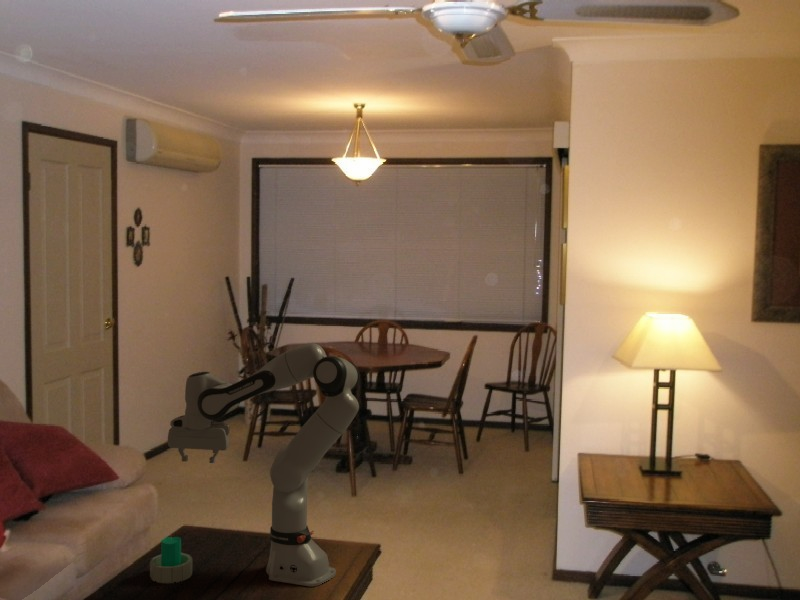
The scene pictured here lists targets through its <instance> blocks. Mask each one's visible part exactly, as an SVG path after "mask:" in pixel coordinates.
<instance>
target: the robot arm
mask: <svg viewBox="0 0 800 600" xmlns="http://www.w3.org/2000/svg"><path fill="white" fill-rule="evenodd" d="M360 376H361V375H360V371H359V370H358V367H357V366H356V365H355V364H354V363H353V362H351V361H349V360H347V359H345V358H343V357H339V356H335V355H334V356H333V355H327V354H326V352H325V350H324V348H323V347H322V346H321V345H319V344H317V343H314V342H312V343H307V344H304V345H299V346H296V347H294V348H291V349H289V350H287V351H284V352H283V353H280V354H279V355H277V356H275V357H274V358H272V359H271V360H269V361H268V362H266V364H264V365H263V366H262V367H261V368H259V369H258V370H257V371H256V372H254V373H252V374H251V375H249V376H248V377H246V378H244V379H242V380H239V381H236V382H235V383H232V382H227V381H225V380H223V379H220V378H218V377H217V376H215V375H213V374H212V373H211V372H210V371H199V372H196V373H192V374H190V375H189V376H188V377H187V378H186V383H185V391H184V392H185V395H184V400H185V405H186V406H185V411H184V415H183V414H182V415H180V416H177V417H175V418H173V419H172V420H170V428H169V430H168V433H167V446H168V447H169V448H170V449H178V450H177V451H178V453H179V455H180V457H181V462H188V461H189V456H188V455H187V454H186V453H185V450H186V449H189V450H203V451H204V450H206V451H212V454H213V455H212V456H210V457H209V459H208V460H209V461H208V463H210V464H215V463H216V457H217V456H218V454H219V452H220V451H224V452H225V451H227V449H228V448H229V447H230V426H229V424H227V423H226V422H225V421H221V422H220V421H218V420H219V419H221V418H223V417H224V416H225V415H227V414H228V413H230V412H232V411H234V410H236V408H238V407H239V405H240V404H241V403H242V402H245V401H246V400H249V399H251V398H254V397H255V396H259V395H261V394H265V393H268V392H274V391H278V390H283V389H287V388H289V387H293V386H296V385H298V384H301V383H302V382H305V381H307V380H309V379H312V378H313V379H314V381H315V383H316V385H317V386H318V388H319V389H320V392H321V394H322V395H323V396H325V398H324V401H323V402H322V403H321V405H320V406H319V407H318V408H317V409H316V410H315V411H314V413H313V414H312V415H311V416H310V417H309V418H308V419H307V421H306V422H304V424H303V425H302V427H301V428H300V429H299V430H298V432H297V433H296V434H295V435H294V436H293V438H292V439H291V440H290V442H289V443H288V444H287V445H286V446H284V447H282V448H281V449H280V450H278V451H277V454H276V455H275V457H274V460H273V463H272V465H271V467H270V472H269V475H270V480H271V484H272V486H273V489H272V500H271V526H270V528H269V530H270V531H269V539H270V550H269V558H268V562H267V565H266V568H265V572H266V574H267V575H268V580H270V581H274V582H281V583H286V584H293V585H299V586H306V587H310V588H311V587H317V586H320V585H322V583H323V584H325V583H326V581H327V582H328V580H329V581H330V580H331V578H332V579H333V578H334V577H335V576H336V573H337V569H336V568H334V567H331V566H330V563H329V558H328V557H329V556H328V554H327V553H326V552H325V551H324V550H323V548H321V547H320V546H319V545H318V544H317V543H316V542H315V541H314V540H313V539H312V535H314V534H315V533H314V530H311V531H310V529H309V526H308V525H307V524H308V523H307V521H308V517H307V515H308V513H307V512H308V491H309V476H310V474H311V473H312V472H313V471H314V470H315V468H316V467H317V466H318V464H319V463H320V461H321V460H322V459H323V458H324V456H325V454H326V453H327V452H329V450H330V449H331V448H332V447H333V446H334V444H335V443H337V440H338V439H339V438H340V437H341V436H342V435H343V434H344V433H345V432H346V430H347V429H348V428H349V426H350V425H351V423H352V422H353V420H354V419H355V417H356V416H357V414H358V412H359V411H360V410H359V409H360V403H359V402H358V399H357V398H356V396H355V395H353V393H352V391H354V389H356V387H357V386H358V384H359V383H360V382H359V381H360ZM324 582H325V583H324Z"/></svg>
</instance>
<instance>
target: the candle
mask: <svg viewBox="0 0 800 600" xmlns="http://www.w3.org/2000/svg"><path fill="white" fill-rule="evenodd" d="M160 541H161V543H160V547H161V549H160V550H161V551H160V555H161V566H177V565H181V553H182V538H181V537H179V536H174V537H172V536H170V537H169V536H167V537H164V538H163V539H161V540H160Z"/></svg>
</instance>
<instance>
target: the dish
mask: <svg viewBox="0 0 800 600" xmlns="http://www.w3.org/2000/svg"><path fill="white" fill-rule="evenodd" d="M192 574H193V557H192V556H191V555H190V554H188V553H184V552H181V565H177V566H161V554H158V555H156V556H154V557H152V558H151V559H150V561H149V578H150V577H151V578H150V579H151V580H152V581H153V582H155V581H156V583H158V584H175V583H174V582H176V583H180V581H181V582H183V581H185V580H188V579H190V578H191V577H192Z"/></svg>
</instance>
